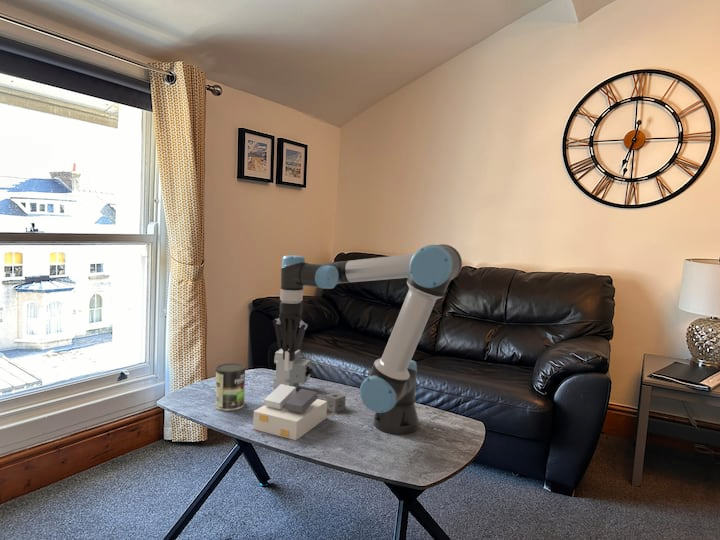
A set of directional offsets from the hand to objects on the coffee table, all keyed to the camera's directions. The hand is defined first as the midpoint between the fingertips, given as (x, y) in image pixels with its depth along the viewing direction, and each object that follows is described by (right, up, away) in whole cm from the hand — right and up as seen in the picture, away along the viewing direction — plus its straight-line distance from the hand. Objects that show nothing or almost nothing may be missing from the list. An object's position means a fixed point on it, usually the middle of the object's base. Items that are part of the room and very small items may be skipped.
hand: (288, 369), depth 168 cm
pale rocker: (-2, -9, -3) cm, 10 cm away
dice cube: (+15, -17, +11) cm, 25 cm away
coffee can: (-22, -15, +9) cm, 28 cm away
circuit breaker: (-2, -14, +30) cm, 33 cm away
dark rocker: (+5, -10, -6) cm, 13 cm away
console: (+1, -17, -4) cm, 18 cm away
